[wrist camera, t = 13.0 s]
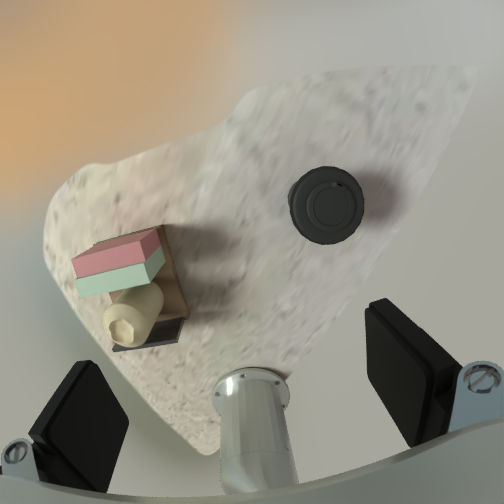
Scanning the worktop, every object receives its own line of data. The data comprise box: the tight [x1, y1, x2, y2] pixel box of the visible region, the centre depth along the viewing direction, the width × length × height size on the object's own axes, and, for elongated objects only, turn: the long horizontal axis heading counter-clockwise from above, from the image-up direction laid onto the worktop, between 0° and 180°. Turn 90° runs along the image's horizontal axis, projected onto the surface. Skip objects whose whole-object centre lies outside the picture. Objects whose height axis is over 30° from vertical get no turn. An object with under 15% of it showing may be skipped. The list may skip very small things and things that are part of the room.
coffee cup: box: [288, 166, 364, 245], centre depth 33 cm, size 8×8×10 cm
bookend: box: [112, 317, 184, 352], centre depth 37 cm, size 1×9×6 cm, turn 103°
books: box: [71, 228, 166, 298], centre depth 33 cm, size 4×9×8 cm, turn 102°
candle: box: [103, 281, 164, 347], centre depth 34 cm, size 6×6×10 cm
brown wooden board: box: [93, 225, 189, 322], centre depth 39 cm, size 13×10×2 cm
